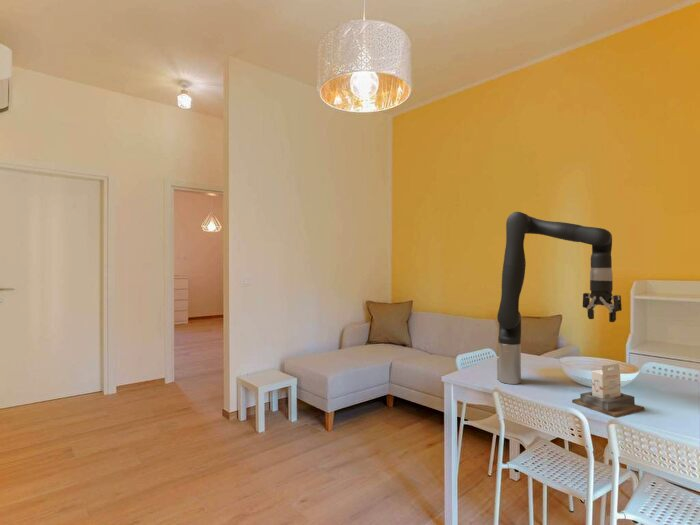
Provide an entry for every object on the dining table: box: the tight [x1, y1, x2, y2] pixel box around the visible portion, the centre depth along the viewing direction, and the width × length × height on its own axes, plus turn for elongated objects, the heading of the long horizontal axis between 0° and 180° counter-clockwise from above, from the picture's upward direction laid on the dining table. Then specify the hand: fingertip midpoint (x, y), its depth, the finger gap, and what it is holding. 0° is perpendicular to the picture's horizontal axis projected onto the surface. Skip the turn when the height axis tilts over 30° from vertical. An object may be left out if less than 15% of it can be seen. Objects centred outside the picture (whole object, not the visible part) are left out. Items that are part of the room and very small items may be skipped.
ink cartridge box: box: [591, 363, 622, 400], centre depth 146 cm, size 9×5×15 cm, turn 107°
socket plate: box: [571, 390, 645, 418], centre depth 145 cm, size 16×16×4 cm
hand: (601, 320), depth 156 cm, fingers open, 8 cm apart
